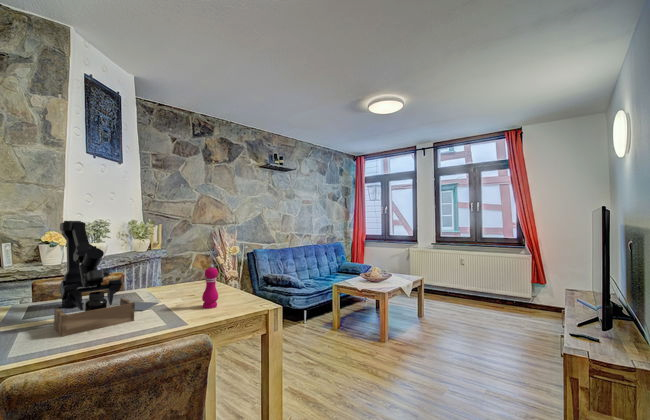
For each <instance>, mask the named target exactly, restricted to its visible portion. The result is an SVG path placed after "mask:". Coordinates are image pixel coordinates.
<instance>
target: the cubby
mask: <svg viewBox="0 0 650 420" xmlns="http://www.w3.org/2000/svg"><path fill="white" fill-rule="evenodd" d="M133 302H134V301H131V300H129V299H127V298H125V297H120V301H119V303H120V304H118V305H113V306H112V305H111V306H108V307H106V308H101V309H95V310H90V311H85V310H84V311H81V312H80V311H79V312H72V313H69V314H66V313H65V312H64V311H63V310H62V309H60V308H59V307H58V308H54V316H53V317H54V318H53V329H54V330H55V331H56V332H57V333H58V334H59V336H61V337H66V336H72V335H75V334H79V333H85V332H90V331H94V330H98V329H102V328H107V327H112V326H116V325H120V324H125V322H126V323H130V322H133V321H135V311H134V310H135V303H133Z"/></svg>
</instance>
